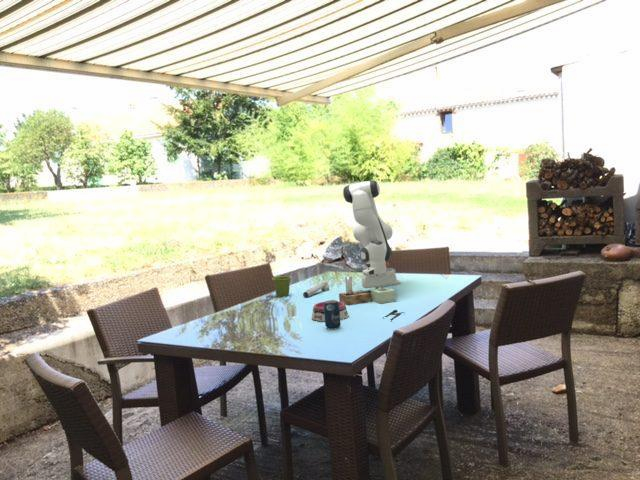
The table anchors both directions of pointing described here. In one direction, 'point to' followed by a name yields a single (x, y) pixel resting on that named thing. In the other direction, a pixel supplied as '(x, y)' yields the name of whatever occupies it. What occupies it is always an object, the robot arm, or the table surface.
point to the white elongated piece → (316, 289)
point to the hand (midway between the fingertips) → (380, 293)
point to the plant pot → (282, 285)
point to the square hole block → (383, 295)
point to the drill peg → (348, 286)
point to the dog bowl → (320, 316)
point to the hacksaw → (394, 314)
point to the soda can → (332, 314)
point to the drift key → (365, 291)
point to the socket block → (355, 298)
